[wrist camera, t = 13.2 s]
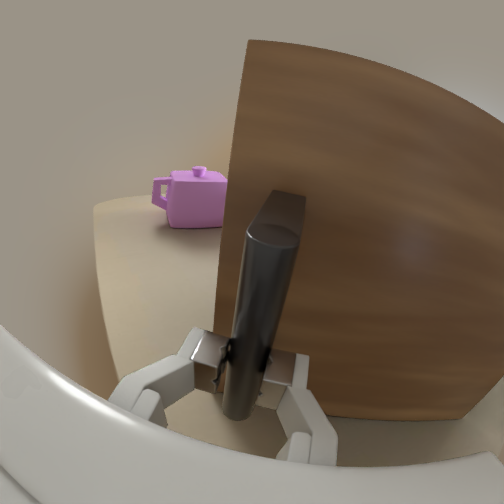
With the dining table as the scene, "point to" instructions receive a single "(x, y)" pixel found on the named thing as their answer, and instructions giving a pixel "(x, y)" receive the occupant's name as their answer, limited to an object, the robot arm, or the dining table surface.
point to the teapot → (192, 198)
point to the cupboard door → (361, 237)
